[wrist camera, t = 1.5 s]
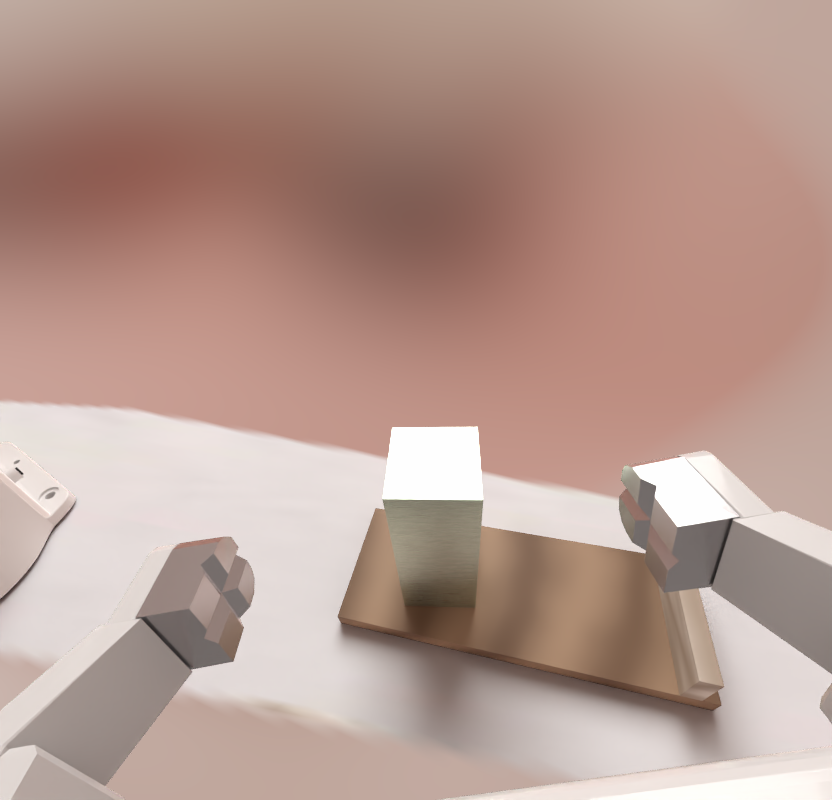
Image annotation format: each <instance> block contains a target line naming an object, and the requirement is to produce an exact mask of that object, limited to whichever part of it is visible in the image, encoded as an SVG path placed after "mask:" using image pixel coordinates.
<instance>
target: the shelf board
mask: <svg viewBox="0 0 832 800" xmlns="http://www.w3.org/2000/svg"><path fill="white" fill-rule="evenodd" d="M644 561H645V554H644V553H638V552H632V551H626V550H620V549H614V548H608V547H603V546H597V545H591V544H585V543H579V542H573V541H567V540H561V539H555V538H549V537H543V536H537V535H531V534H526V533H520V532H514V531H508V530H502V529H496V528H490V527H484V526H481V537H480V551H479V565H478V579H477V593H476V607H475V608H464V607H432V606H405V605H404V600H403V595H402V591H401V586H400V581H399V576H398V571H397V566H396V562H395V557H394V552H393V547H392V542H391V537H390V532H389V528H388V523H387V518H386V513H385V510H383V509H377V508H376V509H375V512H374V515H373V517H372V520H371V523H370V526H369V529H368V532H367V534H366V537H365V540H364V543H363V546H362V549H361V552H360V554H359V557H358V560H357V563H356V566H355V569H354V571H353V574H352V577H351V580H350V583H349V586H348V588H347V591H346V594H345V597H344V600H343V603H342V606H341V608H340V611H339V614H338V618H339V620H340V622H341V623H344V624H348V625H352V626H357V627H361V628H365V629H369V630H374V631H378V632H382V633H386V634H391V635H395V636H399V637H403V638H407V639H412V640H416V641H420V642H424V643H429V644H433V645H437V646H441V647H446V648H450V649H454V650H458V651H463V652H467V653H471V654H475V655H480V656H484V657H488V658H492V659H497V660H501V661H505V662H509V663H514V664H518V665H522V666H526V667H531V668H535V669H539V670H543V671H548V672H552V673H556V674H560V675H565V676H569V677H573V678H577V679H582V680H586V681H590V682H594V683H599V684H603V685H607V686H611V687H615V688H620V689H624V690H628V691H632V692H637V693H641V694H645V695H649V696H654V697H658V698H662V699H666V700H671V701H675V702H679V703H683V704H688V705H692V706H696V707H700V708H705V709H709V710H715V709H716V708H718V707H720V706H721V702H720V698H719V694H718V690H720V689H721V688H723V687H724V684H723V680H722V676H721V673H720V669H719V665H718V661H717V657H716V654H715V650H714V646H713V642H712V638H711V635H710V631H709V627H708V623H707V619H706V616H705V612H704V608H703V604H702V600H701V597H700V593H699V589H698V588H697V589H690V590H682V591H675V592H667V593H663V591H662V589H661V588H660V586H659V585H658V583H657V581H656V580H655V578H654V577H653V575H652V573H651V572H650V570H649V569H648V567H647V565H646V564H645V562H644Z"/></svg>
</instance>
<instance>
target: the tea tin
mask: <svg viewBox="0 0 832 800" xmlns="http://www.w3.org/2000/svg"><path fill="white" fill-rule="evenodd" d="M383 503H384V508H385V513H386V518H387V523H388V528H389V532H390V537H391V542H392V547H393V552H394V557H395V562H396V566H397V571H398V576H399V581H400V586H401V591H402V595H403V600H404V605H405V606H432V607H464V608H475V607H476V593H477V579H478V565H479V551H480V537H481V522H482V508H483V492H482V479H481V466H480V453H479V439H478V428H477V427H414V428H413V427H412V428H411V427H407V428H392V434H391V442H390V449H389V456H388V463H387V471H386V478H385V485H384V493H383Z"/></svg>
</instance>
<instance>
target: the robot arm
mask: <svg viewBox="0 0 832 800" xmlns="http://www.w3.org/2000/svg"><path fill="white" fill-rule="evenodd" d="M621 481H622V482H623V484H624V485H625V486H626V488H627V489H626V490H625V491H624V492H623V493H622V494H621V495H620V497H619V511H620V515H621V520H622V523H623V525H624V528H625V530H626V532H627V534H628V536H629V537H630V539H631V541H632V542H633V543H634V544H636V545H638V546H639V547H641V548H643V549H644V550H646V554H645V561H644V562H645V564H646V565H647V567H648V569H649V570H650V572H651V573H652V575H653V577H654V578H655V580H656V581H657V583H658V585H659V586H660V588H661V589H662V591H663V593H667V592H675V591H682V590H690V589H697V588H705V587H712V588H711V589H712V590H713V591H715V592H716V593H717V594H719V595H720V596H722V597H723V598H725V599H726V600H727V601H729V602H730V603H732V604H733V605H735V606H736V607H737V608H739V609H740V610H742V611H743V612H744V613H746V614H747V615H749V616H750V617H752V618H753V619H754V620H756V621H757V622H759V623H760V624H762V625H763V626H764V627H766V628H767V629H769V630H770V631H771V632H773V633H774V634H776V635H777V636H779V637H780V638H781V639H783V640H784V641H786V642H787V643H789V644H790V645H791V646H793V647H794V648H796V649H797V650H798V651H800V652H801V653H803V654H804V655H806V656H807V657H808V658H810V659H811V660H813V661H814V662H816V663H817V664H818V665H820V666H821V667H823V668H824V669H825V670H827V671H828V672H830V673H831V674H832V531H830V530H828V529H825V528H823V527H820V526H818V525H815V524H813V523H811V522H808V521H806V520H803V519H801V518H799V517H796V516H794V515H791V514H789V513H787V512H784V511H780V512H773V511H772V510H771V509H770V508H769V507H768V506H767V505H766V504H765V503H764V502H762V500H760V499H759V498H758V497H757V496H756V495H755V494H754V493H753V492H752V491H751V490H750V489H749V488H748V487H746V485H745V484H743V483H742V482H741V481H740V480H739V479H738V478H737V477H736V476H735V475H734V474H733V473H732V472H731V471H730V470H729V469H728V468H727V467H726V466H724V465H723V464H722V463H721V462H720V461H719V460H718V459H717V458H716V457H715V456H714V455H713V454H711V453H709V452H707V451H700V452H695V453H689V454H683V455H678V456H673V457H667V458H662V459H657V460H651V461H646V462H641V463H635V464H630V465H625V467H624V469H623V470H622V477H621ZM75 500H76V497H75V495H74V494H72V493H71V492H70V491H69V490H68V489H66V488H65V487H64V486H63V485H62V484H61V483H59V482H58V481H57V480H56V479H55V478H54V477H52V476H51V475H50V474H49V473H48V472H46V471H45V470H44V469H43V468H42V467H41V466H39V465H38V464H37V463H36V462H35V461H33V460H32V459H31V458H30V457H29V456H28V455H26V454H25V453H24V452H23V451H22V450H20V449H19V448H18V447H17V446H15V445H14V444H12V443H11V442H3V443H0V599H1V598H2V597H3V596H4V595H5V594H6V593H7V592H8V591H9V590H10V589H11V588H12V587H13V586H14V585H15V584H16V583H17V582H18V581H19V580H20V579H21V578H22V577H23V575H24V574H25V573H26V572H27V571H28V569H29V568H30V567H31V566H32V564H33V563H34V561H35V560H36V558H37V557H38V555H39V554H40V552H41V550H42V549H43V547H44V545H45V543H46V541H47V538H48V536H49V535H50V533H51V531H52V529H53V528H54V526H55V525H56V524H57V523H58V522H59V521H60V520H61V519H62V518H63V517H64V516H65V515H66V513H67V512H68V511H69V510H70V509H71V507H72V506H73V505H74V503H75ZM237 550H238V546H237V544H236V543H235V542H234V540H233V539H232V537H219V538H212V539H206V540H199V541H192V542H186V543H180V544H175V545H169V546H162V547H157V548H156V549H154V550H153V551H151V552H150V553H149V554H148V556H147V558H146V559H145V561H144V563H143V564H142V566H141V568H140V569H139V571H138V573H137V574H136V576H135V578H134V579H133V581H132V583H131V584H130V586H129V588H128V589H127V591H126V593H125V594H124V596H123V598H122V599H121V601H120V603H119V604H118V606H117V608H116V609H115V611H114V613H113V614H112V616H111V618H110V619H109V621H108V623H107V624H104V625H99V626H98V627H97V628H96V629H94V630H93V631H92V632H91V633H90V634H89V635H87V636H86V637H85V638H84V639H83V640H82V641H80V642H79V643H78V644H77V645H76V646H75V647H73V648H72V649H71V650H70V651H69V652H68V653H67V654H65V655H64V656H63V657H62V658H61V659H60V660H58V661H57V662H56V663H55V664H54V665H53V666H51V667H50V668H49V669H48V670H47V671H46V672H44V673H43V674H42V675H41V676H40V677H39V678H38V679H36V680H35V681H34V682H33V683H32V684H31V685H29V686H28V687H27V688H26V689H25V690H24V691H23V692H21V693H20V694H19V695H18V696H17V697H15V698H14V699H13V700H12V701H11V702H10V703H9V704H7V705H6V706H5V707H4V708H3V709H2V710H0V800H125V799H124V797H122V796H121V795H119V794H117V793H115V792H114V791H112V790H110V789H109V788H107V787H105V785H106V784H107V783H108V782H109V780H110V779H111V778H112V776H113V775H114V774H115V773H116V771H117V770H118V769H119V767H120V766H121V765H122V763H123V762H124V761H125V759H126V758H127V757H128V755H129V754H130V753H131V751H132V750H133V749H134V748H135V746H136V745H137V743H138V742H139V741H140V740H141V738H142V737H143V736H144V734H145V733H146V732H147V731H148V729H149V728H150V727H151V725H152V724H153V723H154V721H155V720H156V719H157V717H158V716H159V715H160V713H161V712H162V711H163V709H164V708H165V707H166V705H167V704H168V703H169V702H170V700H171V699H172V698H173V696H174V695H175V694H176V693H177V691H178V690H179V689H180V687H181V686H182V685H183V683H184V682H185V681H186V679H187V678H188V677H189V675H190V674H191V673H192V671H191V669H196V668H202V667H207V666H212V665H217V664H223V663H228V662H233V661H234V658H235V654H236V651H237V648H238V645H239V641H240V638H241V635H242V632H243V628H244V627H243V624H242V622H241V620H240V617H241V616H242V615H243V614H244V613H245V612H246V610H247V609H248V608H249V607H250V605H251V602H252V598H253V595H254V575H253V571H252V568H251V566H250V565H249V563H248V561H247V560H245V559H243V558H241V557H239V556H237V555H236V553H237ZM820 709H821V710H822V711H823V713H824V714H825V715H826V717H827V718H828V719H829V721H830V722H831V723H832V684H831V685H830V686H829V688H828V689H827V691H826V692H825V694H824V695H823V696H822V698H821V703H820ZM440 800H832V746H827V747H820V748H813V749H805V750H798V751H791V752H783V753H776V754H769V755H761V756H754V757H747V758H739V759H732V760H725V761H717V762H710V763H703V764H696V765H688V766H681V767H674V768H666V769H659V770H652V771H644V772H637V773H630V774H622V775H615V776H608V777H600V778H593V779H586V780H578V781H571V782H564V783H556V784H550V785H542V786H535V787H527V788H521V789H513V790H505V791H498V792H491V793H483V794H476V795H469V796H462V797H454V798H447V799H440Z"/></svg>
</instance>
